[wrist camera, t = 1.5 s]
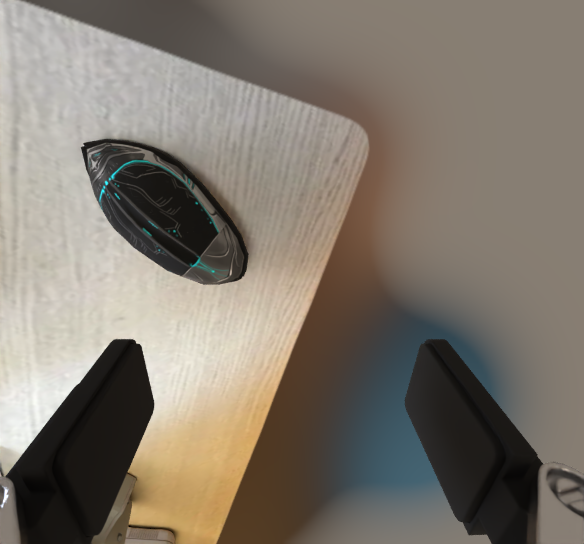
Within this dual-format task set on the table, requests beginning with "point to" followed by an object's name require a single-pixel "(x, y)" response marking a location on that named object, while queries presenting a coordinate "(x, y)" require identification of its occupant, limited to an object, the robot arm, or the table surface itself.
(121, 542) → the digital clock
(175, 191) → the computer mouse
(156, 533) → the handheld gaming console
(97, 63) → the table surface
